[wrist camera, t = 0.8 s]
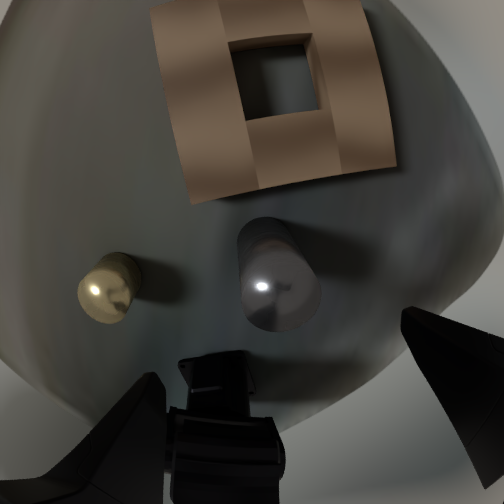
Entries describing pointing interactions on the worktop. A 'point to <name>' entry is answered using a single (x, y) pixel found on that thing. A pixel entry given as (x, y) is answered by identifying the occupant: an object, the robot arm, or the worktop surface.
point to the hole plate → (275, 127)
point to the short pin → (110, 288)
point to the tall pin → (275, 277)
